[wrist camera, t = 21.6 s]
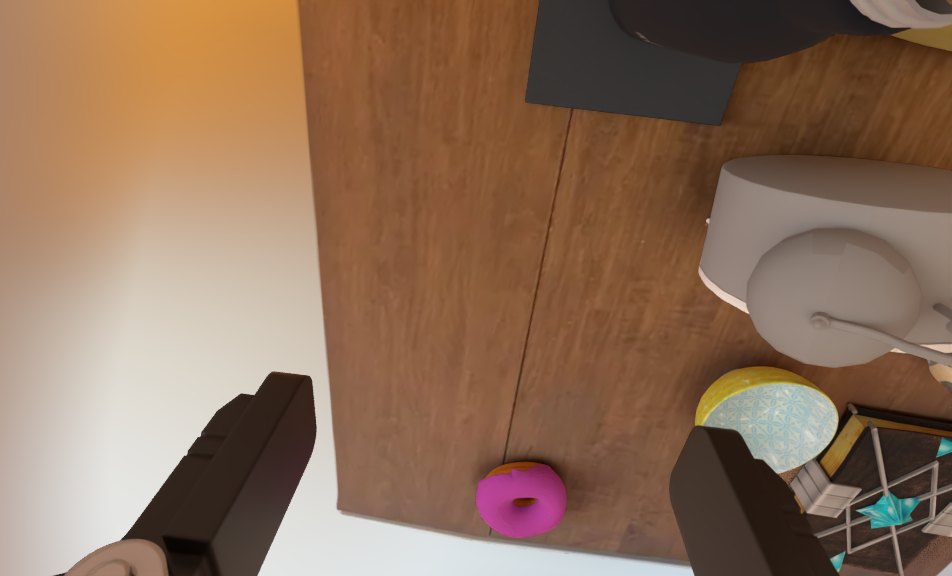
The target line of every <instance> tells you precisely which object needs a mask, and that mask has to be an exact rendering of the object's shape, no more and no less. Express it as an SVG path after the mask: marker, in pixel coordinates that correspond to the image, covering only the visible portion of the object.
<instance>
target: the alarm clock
mask: <svg viewBox="0 0 952 576" xmlns="http://www.w3.org/2000/svg"><path fill="white" fill-rule="evenodd" d="M706 223H708V224H709V226H708V230H707V235H706V239H705V243H704V248H703V252H702V257H701V261H700V266H699V275H700V277H701V278H702V280H703V282H704V284H705V285H706V286H707V287H708V288H709V289H710V290H712V291H713V292H714V293H715V294H716V295H717V296H719V297H720V298H721V299H723V300H724V301H726V302H728V303H730V304H731V305H733V306H735V307H737V308H739V309H740V310H742V311H744V312H746V313H748V314H750V316H751V319H752V321H753V323H754V325H755V328H756V330H757V332H758V333H759V334H760V335H761V336H762V337H763V338H764V339H765V340H766V341H767V342H768V343H769V344H770V345H771V346H772V347H773V348H774V349H775V350H777V351H778V352H780V353H783V354H785V355H787V356H789V357H791V358H793V359H795V360H798V361H800V362H802V363H805V364H812V365H818V366H825V367H832V368H837V367H844V366H851V365H858V364H866V363H868V362H870V361H872V360H874V359H875V358H877V357H879V356H881V355H883V354H885V353H887V352H889V351H891V352H901V353H909V354H912V355H915V356H918V357H921V358H925V359H928V360H931V361H934V362H937V363H940V364H944V365H950V366H952V354H948V353H952V170H946V169H940V168H934V167H927V166H920V165H912V164H905V163H897V162H889V161H879V160H869V159H860V158H847V157H833V156H814V155H761V156H748V157H742V158H736V159H732V160H730V161H728V162H725V163H724V164H723V165H722V168H721V173H720V177H719V181H718V186H717V190H716V195H715V199H714V204H713V208H712V212H711V217H710V218H708V219H707V220H706Z"/></svg>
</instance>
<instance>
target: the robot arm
mask: <svg viewBox="0 0 952 576" xmlns="http://www.w3.org/2000/svg"><path fill="white" fill-rule="evenodd" d="M315 439H316V417H315V407H314V395H313V386H312V379H311V377H310V376H307V375H299V374H291V373H283V372H271V373H270V374H269V375H268V376H267V377H266V379H265V380H264V382H263V383H262V385H261V386H260V388H259V389H258V391H257V392H256V394H255V395H249V394H240V395H238V396H237V397H236V398H234V399H233V400H232V401H230V402H229V403H227V404H226V405H225V406H223V407H222V408H221V409H219V410H218V411H217V412H216V413H215V415H214V416H213V417H212V419H211V420H210V421H209V423H208V424H207V426H206V427H205V428H204V430H203V431H202V433H201V437H198V438H197V439H196V441H195V442H194V443H193V445H192V446H191V448H190V449H189V450H188V454H187V456H184V457H183V458H182V460H181V461H180V463H179V464H178V465H177V467H176V468H175V469H174V471H173V472H172V473H171V475H170V476H169V477H168V479H167V480H166V481H165V483H164V484H163V486H162V487H161V488H160V490H159V491H158V492H157V494H156V495H155V496H154V498H153V499H152V501H151V502H150V503H149V505H148V506H147V507H146V509H145V510H144V512H143V513H142V514H141V516H140V517H139V518H138V520H137V521H136V522H135V524H134V525H133V527H132V528H131V529H130V530H129V531H128V533H127V534H126V535H125V536H124V537H123V538H122V539H121V540H120V541H118V542H114V543H112V544H109V545H106V546H104V547H102V548H99V549H97V550H96V551H94V552H92V553H90V554H89V555H87V556H86V557H84V558H83V559H82V560H80V561H79V562H78V563H76V564H75V565H74V566H73V567H72V568H71V569H70V570H69V571H68V572H66V573H63V574H59V575H55V576H257V575H258V573H259V571H260V568H261V566H262V564H263V562H264V560H265V557H266V555H267V553H268V551H269V548H270V546H271V544H272V542H273V540H274V537H275V535H276V533H277V531H278V528H279V526H280V524H281V522H282V519H283V517H284V515H285V513H286V511H287V508H288V506H289V504H290V502H291V499H292V497H293V495H294V493H295V491H296V488H297V486H298V484H299V482H300V480H301V477H302V475H303V473H304V470H305V468H306V466H307V464H308V462H309V459H310V457H311V455H312V452H313V448H314V444H315ZM669 490H670V499H671V504H672V507H673V510H674V513H675V516H676V520H677V523H678V526H679V529H680V532H681V535H682V538H683V541H684V544H685V548H686V551H687V554H688V557H689V560H690V563H691V566H692V569H693V572H694V575H695V576H839V574H838V572H837V570H836V569H835V567H834V565H833V563H832V562H831V560H830V558H829V556H828V555H827V553H826V551H825V550H824V548H823V546H822V544H821V543H820V541H819V539H818V537H817V536H814V534H813V531H814V530H813V529H812V527H811V525H810V524H809V522H808V520H807V518H806V517H805V515H804V514H801V508H800V506H799V504H798V503H797V501H796V499H795V498H794V496H793V494H792V492H791V491H790V489H789V487H788V485H787V484H786V482H785V481H784V480H783V479H782V478H781V477H780V476H779V475H778V474H777V473H776V472H775V471H774V470H773V469H772V468H771V467H770V466H769V465H768V464H767V463H766V462H765V461H764V460H763V459H755V458H754V457H753V455H752V454H751V452H750V450H749V448H748V446H747V444H746V442H745V440H744V439H743V437H742V435H741V434H740V433H739V432H738V431H737V430H734V429H726V428H718V427H710V426H702V425H697V426H695V427H694V428H693V429H692V431H691V432H690V435H689V437H688V439H687V441H686V443H685V445H684V447H683V449H682V452H681V454H680V456H679V458H678V460H677V462H676V464H675V467H674V469H673V471H672V473H671V477H670V487H669Z"/></svg>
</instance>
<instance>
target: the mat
mask: <svg viewBox="0 0 952 576" xmlns="http://www.w3.org/2000/svg"><path fill="white" fill-rule="evenodd" d="M741 65H742V63H724V62H720V61H716V60H712V59H708V58H704V57H700V56H696V55H692V54H688V53H684V52H681V51H677V50H673V49H669V48H665V47H661V46H657V45H653V44H649V43H645V42H642V41H639V40H637V39H634V38H631V37H629V36H628V35H627V34H626V33H625V32H624V31H622V30H621V29H620V28H619V27H618V25H617V23H616V21H615V19H614V18H613V16H612V14H611V10H610V5H609V0H540V2H539V9H538V16H537V23H536V30H535V37H534V43H533V50H532V57H531V64H530V71H529V78H528V84H527V91H526V98H525V101H526V102H527V103H535V104H543V105H552V106H560V107H568V108H576V109H585V110H593V111H601V112H610V113H618V114H626V115H635V116H643V117H651V118H659V119H668V120H676V121H684V122H693V123H701V124H709V125H718V126H720V125H721V122H722V119H723V116H724V113H725V110H726V108H727V105H728V102H729V99H730V96H731V93H732V90H733V88H734V85H735V82H736V79H737V76H738V73H739V71H740V68H741Z"/></svg>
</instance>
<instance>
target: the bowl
mask: <svg viewBox="0 0 952 576" xmlns="http://www.w3.org/2000/svg"><path fill="white" fill-rule="evenodd" d="M697 425H702V426H710V427H718V428H726V429H734V430H737V431H738V432H739V433H740V434H741V435H742V437H743V439H744V440H745V442H746V444H747V446H748V448H749V450H750V452H751V454H752V455H753V457H754V458H755V459H763V460H764V461H765V462H766V463H767V464H768V465H769V466H770V467H771V468H772V469H773V470H774V471H775V472H776V473H777V474H779V473H783V472H786V471H789V470H791V469H794V468H796V467H799V466H801V465H803V464H805V463H807V462H808V461H810V460H811V459H813V458H814V457H816V456H817V455H818V454H819V453H821V452H822V451H823V450H824V449H825V448H826V447H827V445H828V444H829V443H830V441H831V440H832V439H833V437H834V435H835V433H836V430H837V427H838V412H837V409H836V407H835V405H834V403H833V402H832V401H831V399H830V398H829V397H828V396H827V395H826V394H825V393H824V392H823V391H822V390H820V389H819V388H818V387H817V386H816V385H814V384H813V383H811V382H810V381H808V380H806V379H805V378H803V377H801V376H799V375H797V374H795V373H792V372H790V371H787V370H783V369H779V368H775V367H768V366H756V367H746V368H742V369H735V370H732V371H730V372H727V373H726V374H724V375H723V376H721V377H720V378H719V379H718V380H716V381H715V382H714V383H713V384H712V385H711V386H710V387H709V388H708V389H707V390H706V392H705V393H704V394H703V396H702V397H701V400H700V402H699V404H698V407H697V411H696V416H695V426H697Z"/></svg>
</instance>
